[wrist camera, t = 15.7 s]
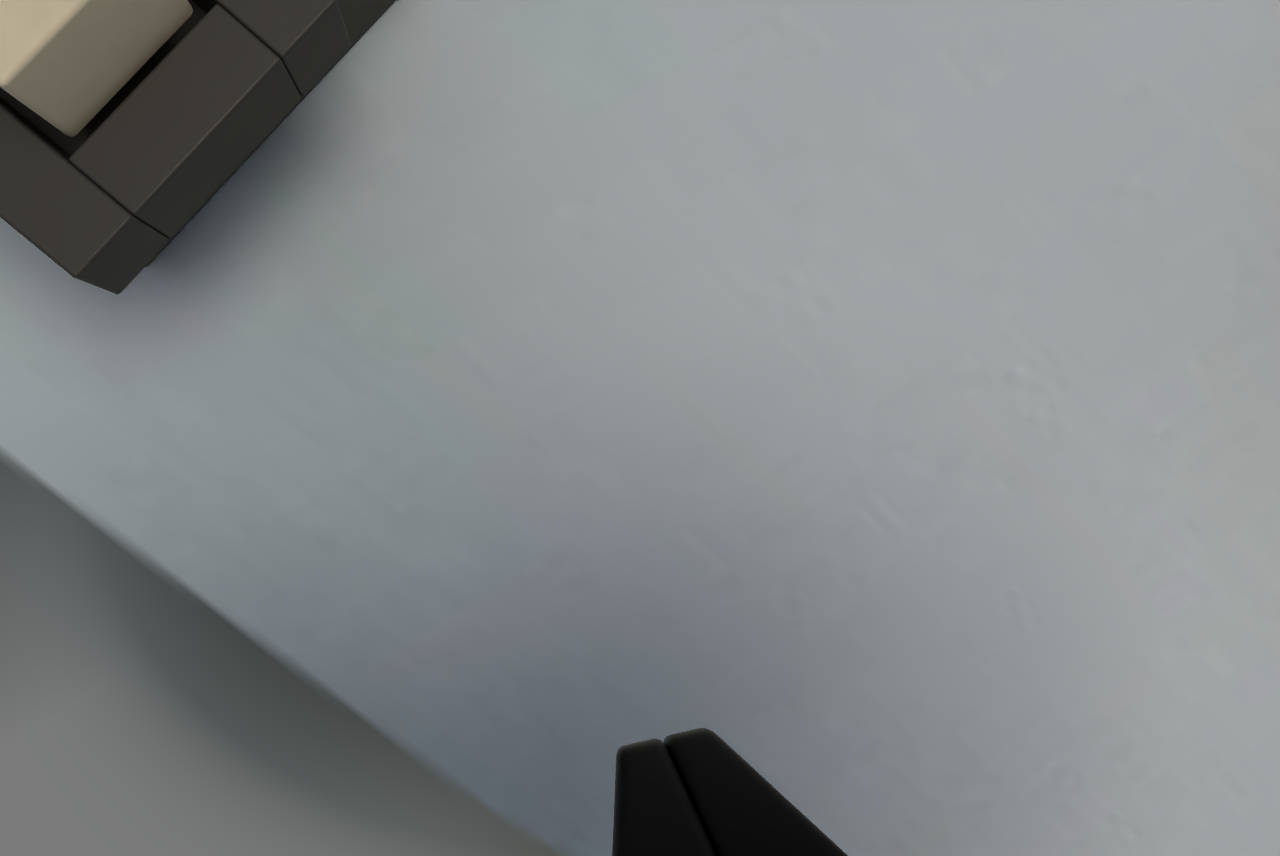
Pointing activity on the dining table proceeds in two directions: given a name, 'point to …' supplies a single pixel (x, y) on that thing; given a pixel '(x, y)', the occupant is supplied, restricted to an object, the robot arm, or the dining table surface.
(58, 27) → the cream cube block
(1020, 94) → the dining table surface
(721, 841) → the robot arm
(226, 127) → the dark notched block
